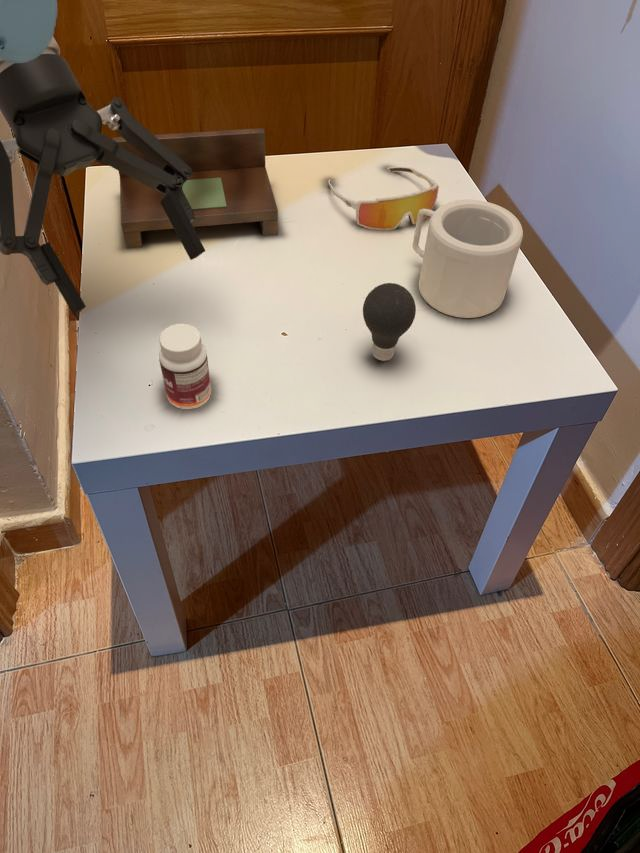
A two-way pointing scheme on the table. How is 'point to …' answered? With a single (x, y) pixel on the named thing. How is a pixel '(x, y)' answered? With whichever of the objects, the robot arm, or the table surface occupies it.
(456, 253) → the mug
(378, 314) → the light bulb
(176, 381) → the pill bottle
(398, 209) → the sunglasses
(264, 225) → the shelf
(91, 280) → the table surface
